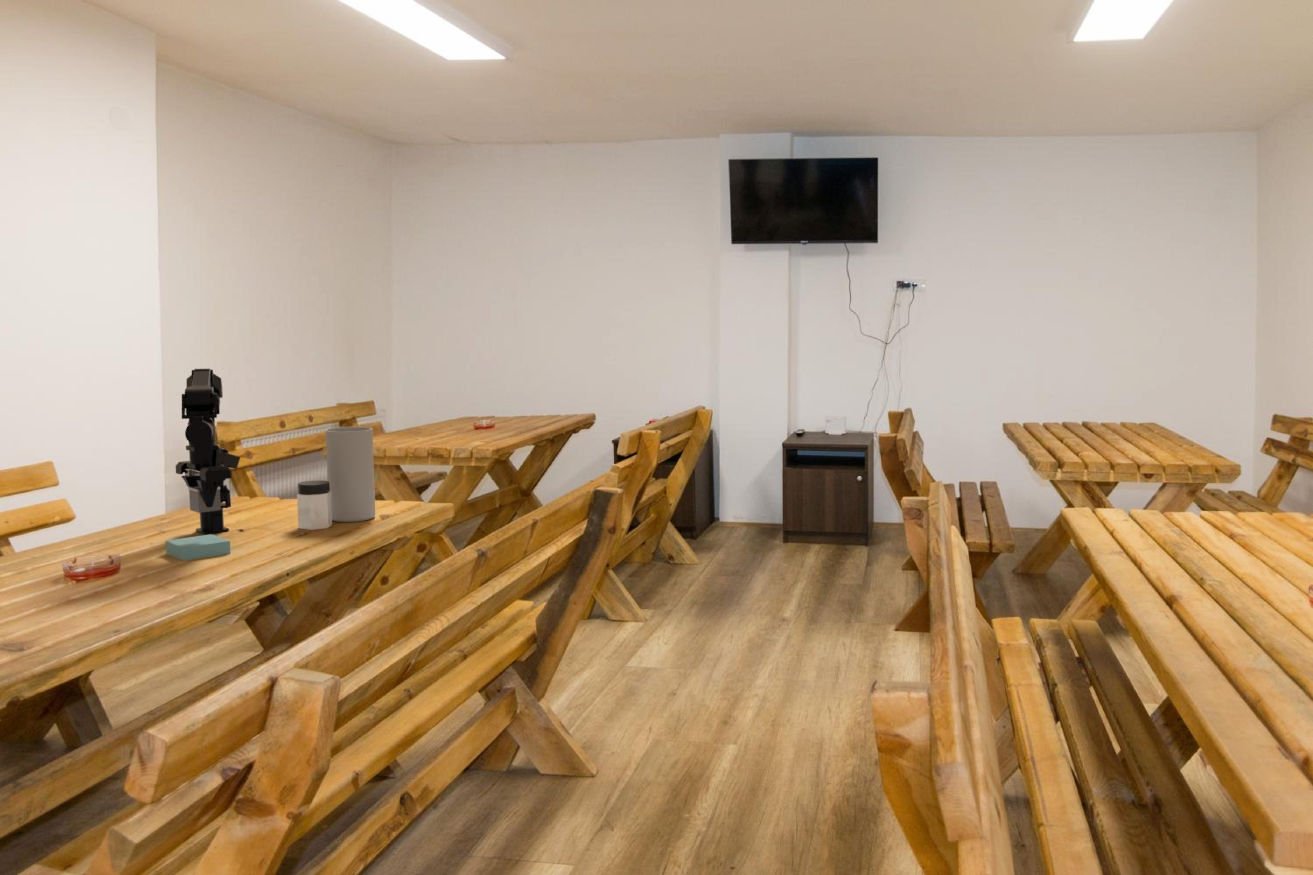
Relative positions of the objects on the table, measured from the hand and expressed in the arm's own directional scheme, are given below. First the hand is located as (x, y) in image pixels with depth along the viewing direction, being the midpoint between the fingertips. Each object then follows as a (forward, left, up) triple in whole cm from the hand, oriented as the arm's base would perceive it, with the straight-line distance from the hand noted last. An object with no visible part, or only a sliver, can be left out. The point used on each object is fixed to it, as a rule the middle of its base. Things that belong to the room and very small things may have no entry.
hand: (205, 505), depth 262 cm
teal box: (0, -2, -12) cm, 12 cm away
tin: (0, 0, -1) cm, 1 cm away
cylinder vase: (-14, +46, -11) cm, 49 cm away
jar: (-10, +33, -11) cm, 36 cm away
